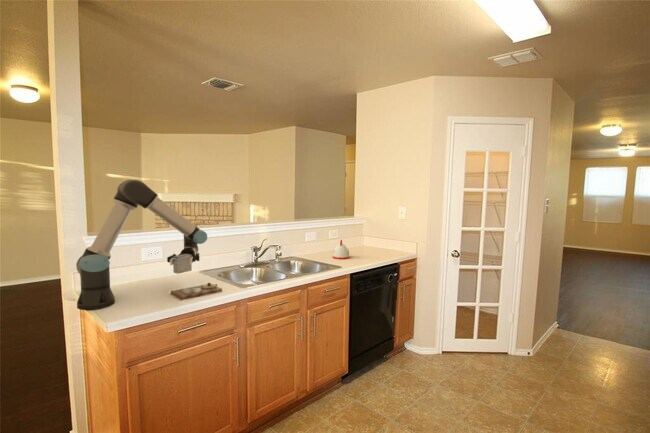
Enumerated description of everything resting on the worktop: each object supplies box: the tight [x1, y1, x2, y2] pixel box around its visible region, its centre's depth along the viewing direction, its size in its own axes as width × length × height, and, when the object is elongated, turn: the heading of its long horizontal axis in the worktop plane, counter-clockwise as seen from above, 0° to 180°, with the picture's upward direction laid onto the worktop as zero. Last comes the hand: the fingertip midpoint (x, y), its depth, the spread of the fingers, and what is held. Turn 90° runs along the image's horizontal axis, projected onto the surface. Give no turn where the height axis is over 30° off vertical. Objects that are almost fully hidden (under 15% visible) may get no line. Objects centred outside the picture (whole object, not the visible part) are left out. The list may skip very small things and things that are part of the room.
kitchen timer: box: [332, 239, 350, 261], centre depth 289 cm, size 14×14×15 cm
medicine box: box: [172, 254, 193, 275], centre depth 180 cm, size 8×4×9 cm, turn 146°
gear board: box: [170, 282, 223, 301], centre depth 188 cm, size 22×14×4 cm, turn 135°
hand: (180, 262), depth 175 cm, fingers closed on medicine box, 8 cm apart
